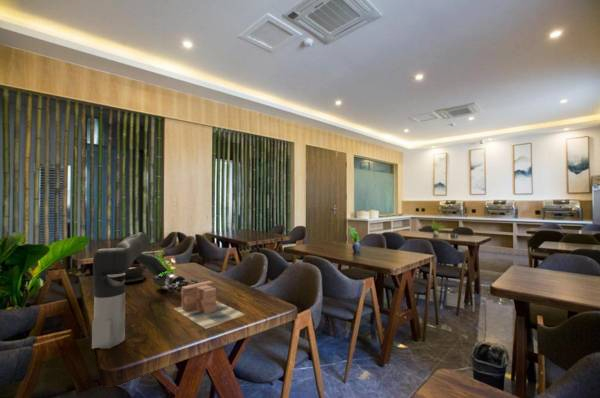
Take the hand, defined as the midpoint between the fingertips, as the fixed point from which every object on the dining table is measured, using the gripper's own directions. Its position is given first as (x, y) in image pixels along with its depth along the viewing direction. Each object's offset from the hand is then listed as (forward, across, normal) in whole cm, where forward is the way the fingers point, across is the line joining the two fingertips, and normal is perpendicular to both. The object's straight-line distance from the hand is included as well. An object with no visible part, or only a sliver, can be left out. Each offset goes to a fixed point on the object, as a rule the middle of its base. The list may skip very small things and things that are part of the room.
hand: (189, 288), depth 139 cm
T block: (+14, 0, +6) cm, 15 cm away
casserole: (-66, -8, +7) cm, 66 cm away
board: (+20, 0, +7) cm, 21 cm away
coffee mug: (-42, -20, +7) cm, 47 cm away
